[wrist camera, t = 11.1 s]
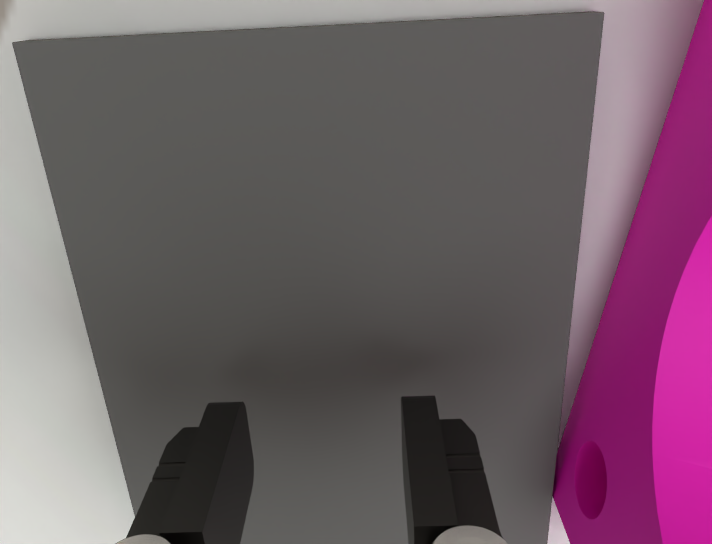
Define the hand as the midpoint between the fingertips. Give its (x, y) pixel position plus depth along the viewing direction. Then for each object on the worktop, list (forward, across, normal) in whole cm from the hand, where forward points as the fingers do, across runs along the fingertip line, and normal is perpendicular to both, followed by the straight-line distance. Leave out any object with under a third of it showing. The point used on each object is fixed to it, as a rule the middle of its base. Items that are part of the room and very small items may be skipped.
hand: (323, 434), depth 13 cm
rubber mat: (+3, 0, 0) cm, 3 cm away
